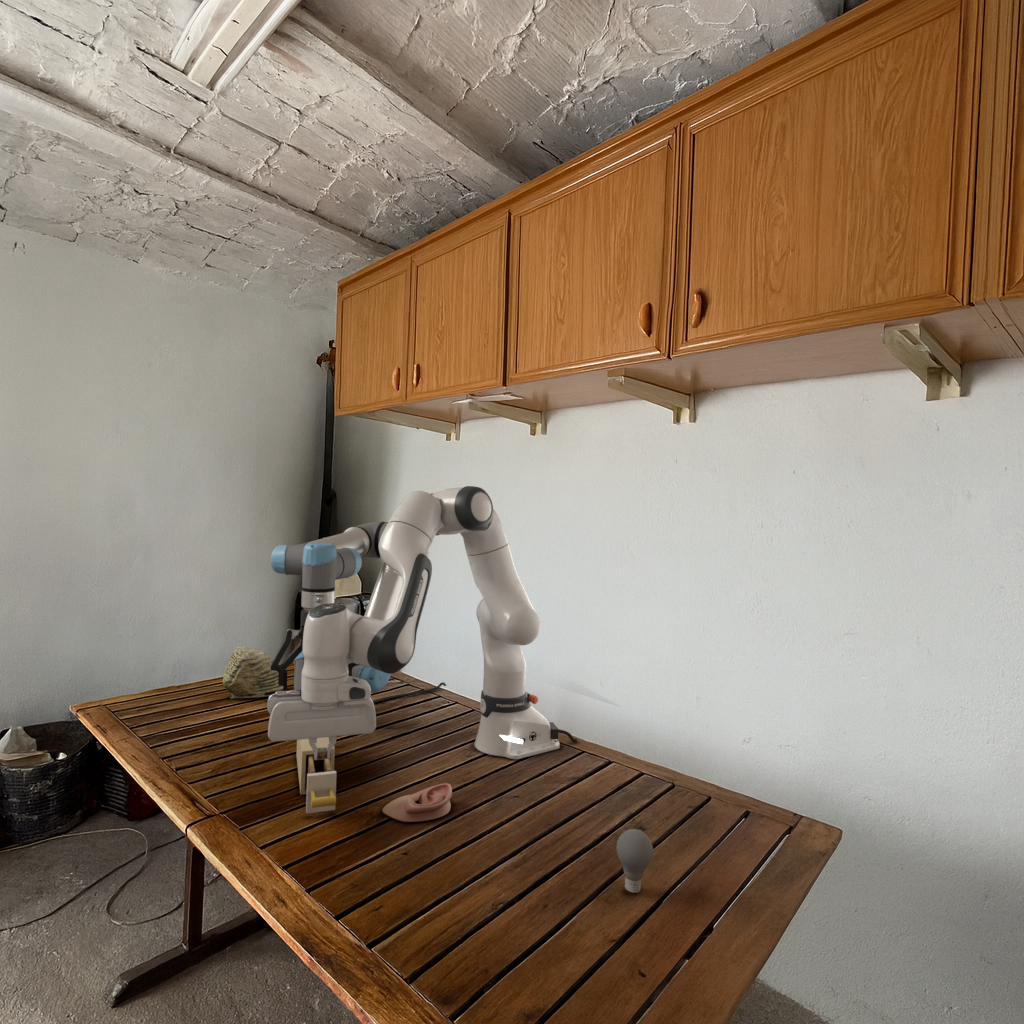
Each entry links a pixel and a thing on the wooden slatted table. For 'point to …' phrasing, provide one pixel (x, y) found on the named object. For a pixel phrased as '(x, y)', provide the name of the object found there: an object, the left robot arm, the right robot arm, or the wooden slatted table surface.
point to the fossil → (250, 674)
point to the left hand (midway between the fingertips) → (314, 697)
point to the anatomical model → (421, 804)
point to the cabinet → (302, 751)
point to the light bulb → (634, 857)
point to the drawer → (320, 785)
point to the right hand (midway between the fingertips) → (321, 758)
